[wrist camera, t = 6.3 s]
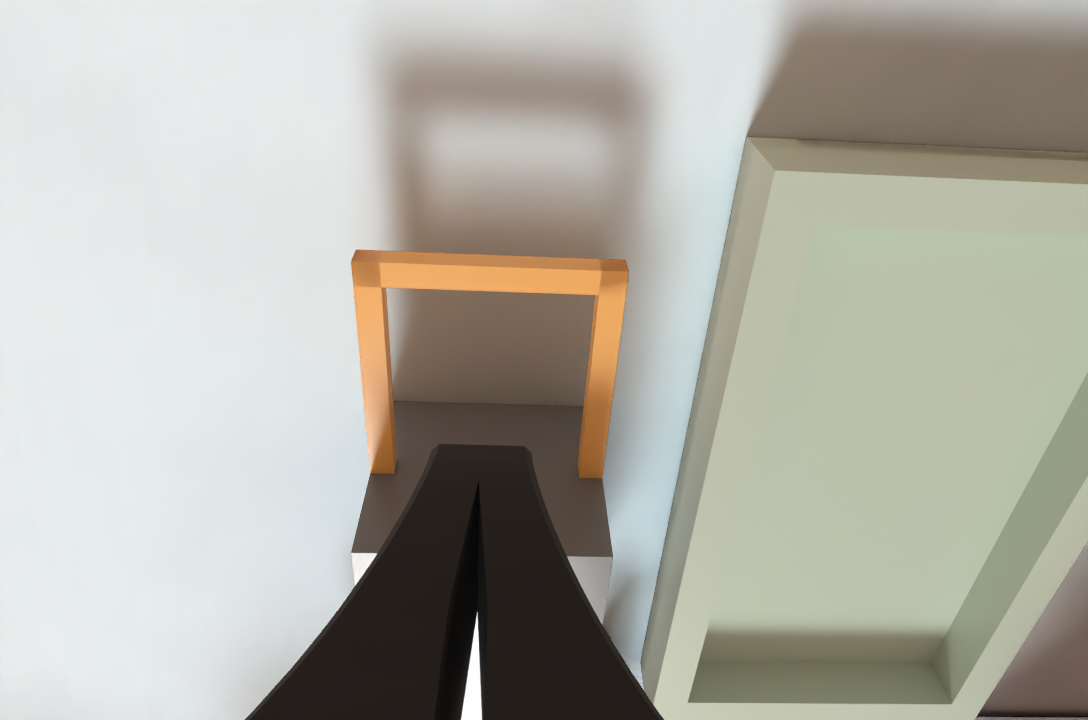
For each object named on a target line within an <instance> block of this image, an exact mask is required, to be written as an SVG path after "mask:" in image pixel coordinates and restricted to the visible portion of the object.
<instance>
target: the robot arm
mask: <svg viewBox="0 0 1088 720" xmlns="http://www.w3.org/2000/svg"><path fill="white" fill-rule="evenodd" d="M477 613H478V637H479V661H480V684H481V708H482V720H664V719H663V717H662V716H661V715H660V713H659V712H658V711H657V709H656V708H655V706H654V705H653V703H652V702H651V701H650V699H649V698H648V696H647V695H646V693H645V692H644V690H643V689H642V687H641V686H640V684H639V683H638V681H637V680H636V678H635V677H634V675H633V674H632V673H631V671H630V669H629V668H628V666H627V665H626V663H625V661H624V660H623V658H622V657H621V655H620V653H619V652H618V650H617V649H616V647H615V646H614V644H613V642H612V641H611V639H610V637H609V636H608V634H607V632H606V630H605V629H604V627H603V625H602V623H601V622H600V620H599V618H598V616H597V615H596V613H595V611H594V609H593V607H592V605H591V604H590V602H589V600H588V598H587V596H586V594H585V592H584V590H583V588H582V587H581V585H580V583H579V581H578V579H577V577H576V575H575V573H574V571H573V568H572V566H571V564H570V562H569V560H568V558H567V555H566V553H565V551H564V549H563V547H562V544H561V542H560V540H559V538H558V535H557V533H556V531H555V528H554V526H553V523H552V521H551V519H550V516H549V513H548V511H547V508H546V505H545V502H544V499H543V497H542V494H541V491H540V487H539V484H538V481H537V477H536V474H535V469H534V465H533V460H532V453H531V452H530V451H529V450H528V449H527V448H526V447H525V446H504V445H466V444H439V445H437V446H436V447H435V448H434V449H432V451H431V454H430V456H429V459H428V462H427V464H426V466H425V469H424V471H423V473H422V475H421V478H420V480H419V482H418V484H417V486H416V488H415V490H414V492H413V494H412V495H411V497H410V499H409V501H408V503H407V505H406V507H405V508H404V510H403V512H402V514H401V515H400V517H399V519H398V520H397V522H396V524H395V525H394V527H393V529H392V530H391V532H390V534H389V535H388V537H387V539H386V540H385V542H384V544H383V545H382V547H381V549H380V550H379V552H378V553H377V555H376V556H375V558H374V560H373V561H372V562H371V564H370V565H369V567H368V568H367V570H366V571H365V573H364V574H363V575H362V577H361V578H360V580H359V581H358V583H357V584H356V586H355V587H354V588H353V590H352V591H351V593H350V594H349V596H348V597H347V599H346V600H345V601H344V603H343V604H342V606H341V607H340V608H339V610H338V611H337V612H336V614H335V615H334V616H333V617H332V619H331V620H330V621H329V623H328V624H327V625H326V627H325V628H324V629H323V630H322V632H321V633H320V634H319V636H318V637H317V638H316V639H315V640H314V642H313V643H312V644H311V645H310V647H309V648H308V649H307V650H306V651H305V653H304V654H303V655H302V656H301V658H300V659H299V660H298V661H297V662H296V664H295V665H294V666H293V667H292V668H291V669H290V671H289V672H288V673H287V674H286V675H285V676H284V677H283V678H282V679H281V681H280V682H279V683H278V684H277V685H276V686H275V687H274V688H273V690H272V691H271V692H270V693H269V694H268V695H267V696H266V697H265V699H264V700H263V701H262V702H261V703H260V704H259V705H258V706H257V707H256V709H255V710H254V711H253V712H252V713H251V714H250V715H249V716H248V717H247V718H246V719H245V720H461V717H462V710H463V703H464V697H465V690H466V684H467V677H468V670H469V664H470V657H471V650H472V644H473V637H474V630H475V624H476V617H477ZM975 720H1088V717H976V718H975Z"/></svg>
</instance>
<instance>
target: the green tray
mask: <svg viewBox="0 0 1088 720" xmlns="http://www.w3.org/2000/svg"><path fill="white" fill-rule="evenodd" d="M1087 542H1088V153H1083V152H1062V151H1041V150H1020V149H998V148H977V147H956V146H935V145H913V144H892V143H871V142H850V141H828V140H807V139H786V138H765V137H746V142H745V146H744V151H743V156H742V161H741V166H740V171H739V176H738V181H737V186H736V191H735V196H734V201H733V206H732V211H731V216H730V221H729V226H728V231H727V236H726V241H725V246H724V251H723V256H722V261H721V266H720V270H719V275H718V280H717V285H716V290H715V295H714V300H713V305H712V310H711V315H710V320H709V325H708V330H707V335H706V340H705V345H704V350H703V355H702V360H701V365H700V370H699V375H698V380H697V385H696V390H695V395H694V399H693V404H692V409H691V414H690V419H689V424H688V429H687V434H686V439H685V444H684V449H683V454H682V459H681V464H680V469H679V474H678V479H677V484H676V489H675V494H674V499H673V504H672V509H671V514H670V519H669V524H668V528H667V533H666V538H665V543H664V548H663V553H662V558H661V563H660V568H659V573H658V578H657V583H656V588H655V593H654V598H653V603H652V608H651V613H650V618H649V623H648V628H647V633H646V638H645V643H644V648H643V653H642V657H641V662H640V664H641V671H642V677H643V684H644V691H645V693H646V695H647V696H648V698H649V699H650V701H651V702H652V703H653V705H654V706H655V708H656V709H657V711H658V712H659V713H660V715H661V716H662V717H663V719H664V720H975V718H976V717H977V715H978V713H979V712H980V710H981V709H982V707H983V706H984V704H985V702H986V701H987V699H988V698H989V696H990V695H991V693H992V691H993V690H994V688H995V687H996V685H997V684H998V682H999V680H1000V679H1001V677H1002V676H1003V674H1004V673H1005V671H1006V669H1007V668H1008V666H1009V665H1010V663H1011V662H1012V660H1013V658H1014V657H1015V655H1016V654H1017V652H1018V650H1019V649H1020V647H1021V646H1022V644H1023V643H1024V641H1025V639H1026V638H1027V636H1028V635H1029V633H1030V632H1031V630H1032V628H1033V627H1034V625H1035V624H1036V622H1037V621H1038V619H1039V617H1040V616H1041V614H1042V613H1043V611H1044V610H1045V608H1046V606H1047V605H1048V603H1049V602H1050V600H1051V599H1052V597H1053V595H1054V594H1055V592H1056V591H1057V589H1058V588H1059V586H1060V584H1061V583H1062V581H1063V580H1064V578H1065V576H1066V575H1067V573H1068V572H1069V570H1070V569H1071V567H1072V565H1073V564H1074V562H1075V561H1076V559H1077V558H1078V556H1079V554H1080V553H1081V551H1082V550H1083V548H1084V547H1085V545H1086V543H1087Z"/></svg>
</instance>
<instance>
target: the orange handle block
mask: <svg viewBox="0 0 1088 720" xmlns="http://www.w3.org/2000/svg"><path fill="white" fill-rule="evenodd" d="M351 265H352V276H353V287H354V298H355V309H356V320H357V331H358V342H359V353H360V364H361V375H362V386H363V397H364V408H365V419H366V430H367V441H368V452H369V463H370V477H369V481H368V485H367V489H366V494H365V498H364V502H363V506H362V510H361V514H360V518H359V522H358V527H357V531H356V535H355V539H354V543H353V547H352V551H351V556H352V564H353V573H354V581H355V586H356V584H357V583H358V581H359V580H360V578H361V577H362V575H363V574H364V573H365V571H366V570H367V568H368V567H369V565H370V564H371V562H372V561H373V560H374V558H375V556H376V555H377V553H378V552H379V550H380V549H381V547H382V545H383V544H384V542H385V540H386V539H387V537H388V535H389V534H390V532H391V530H392V529H393V527H394V525H395V524H396V522H397V520H398V519H399V517H400V515H401V514H402V512H403V510H404V508H405V507H406V505H407V503H408V501H409V499H410V497H411V495H412V494H413V492H414V490H415V488H416V486H417V484H418V482H419V480H420V478H421V475H422V473H423V471H424V469H425V466H426V464H427V462H428V459H429V456H430V454H431V451H432V449H434V448H435V447H436V446H437V445H439V444H466V445H504V446H525V447H526V448H527V449H528V450H529V451H530V452H531V453H532V460H533V465H534V469H535V474H536V477H537V481H538V484H539V487H540V491H541V494H542V497H543V499H544V502H545V505H546V508H547V511H548V513H549V516H550V519H551V521H552V523H553V526H554V528H555V531H556V533H557V535H558V538H559V540H560V542H561V544H562V547H563V549H564V551H565V553H566V555H567V558H568V560H569V562H570V564H571V566H572V568H573V571H574V573H575V575H576V577H577V579H578V581H579V583H580V585H581V587H582V588H583V590H584V592H585V594H586V596H587V598H588V600H589V602H590V604H591V605H592V607H593V609H594V611H595V613H596V615H597V616H598V618H599V620H600V622H601V623H602V625H603V620H604V613H605V607H606V600H607V593H608V587H609V580H610V574H611V567H612V560H613V553H612V546H611V539H610V532H609V525H608V518H607V511H606V503H605V496H604V489H603V482H602V474H603V467H604V459H605V451H606V444H607V436H608V428H609V421H610V413H611V405H612V398H613V390H614V382H615V375H616V367H617V359H618V351H619V344H620V336H621V328H622V321H623V313H624V305H625V298H626V290H627V282H628V275H629V271H628V267H627V263H626V260H613V259H587V258H561V257H535V256H509V255H483V254H457V253H431V252H405V251H378V250H356V251H355V254H354V256H353V258H352V261H351ZM386 288H412V289H440V290H468V291H496V292H524V293H552V294H580V295H595V302H594V312H593V321H592V331H591V341H590V350H589V360H588V369H587V379H586V388H585V398H584V406H549V405H514V404H479V403H443V402H408V401H393V388H392V373H391V357H390V342H389V327H388V311H387V296H386ZM461 720H482V708H481V684H480V661H479V637H478V613H477V617H476V624H475V630H474V637H473V644H472V650H471V657H470V664H469V670H468V677H467V684H466V690H465V697H464V703H463V710H462V717H461Z"/></svg>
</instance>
